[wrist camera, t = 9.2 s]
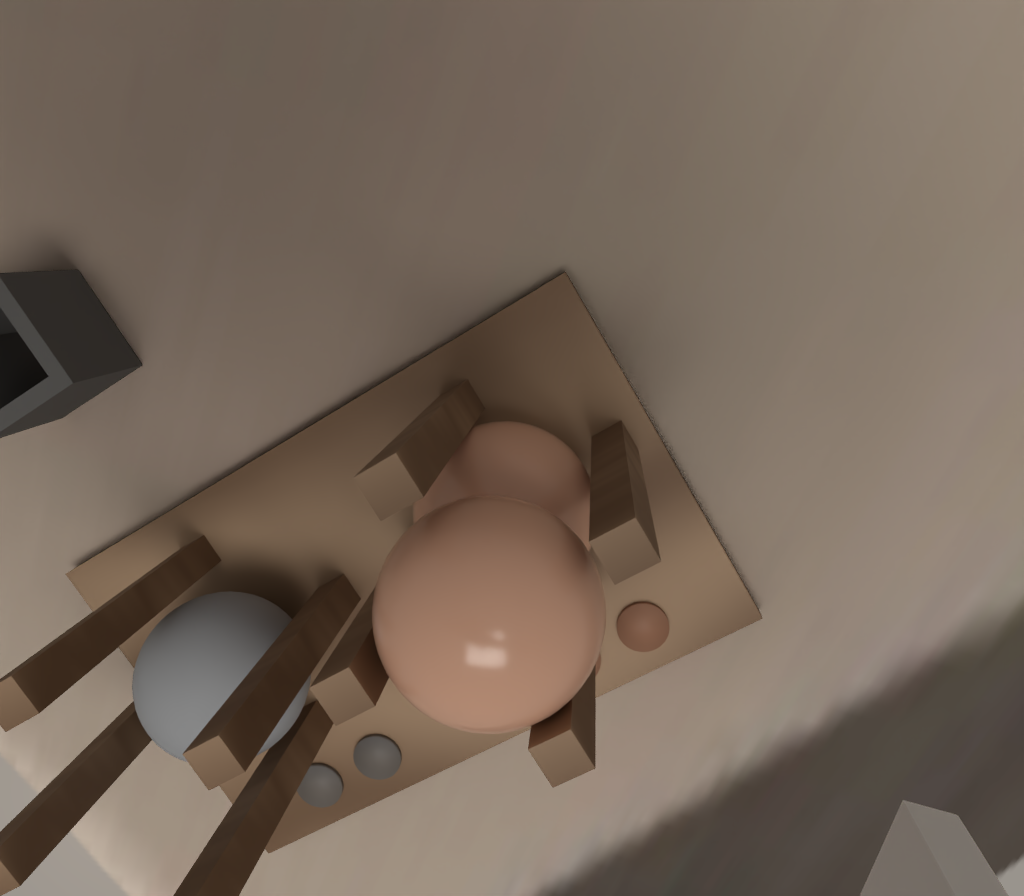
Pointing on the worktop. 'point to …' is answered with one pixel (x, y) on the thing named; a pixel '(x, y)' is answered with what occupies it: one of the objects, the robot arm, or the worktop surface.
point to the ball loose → (489, 614)
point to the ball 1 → (205, 666)
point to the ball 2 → (515, 473)
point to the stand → (54, 348)
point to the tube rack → (351, 584)
